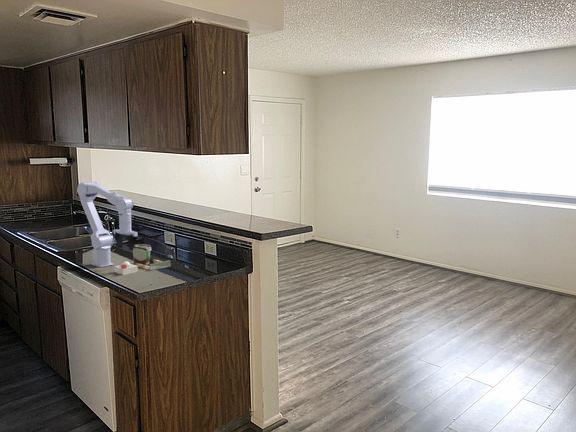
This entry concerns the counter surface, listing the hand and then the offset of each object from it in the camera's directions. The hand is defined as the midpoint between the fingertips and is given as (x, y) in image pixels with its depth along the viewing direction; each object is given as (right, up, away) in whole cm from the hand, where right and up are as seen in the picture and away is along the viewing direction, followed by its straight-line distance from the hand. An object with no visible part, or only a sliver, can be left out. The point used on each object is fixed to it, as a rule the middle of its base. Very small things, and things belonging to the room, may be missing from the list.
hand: (125, 248), depth 243 cm
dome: (+2, -11, -5) cm, 12 cm away
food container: (+6, -9, +12) cm, 16 cm away
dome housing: (+2, -11, -5) cm, 12 cm away
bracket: (+11, -9, +8) cm, 17 cm away
